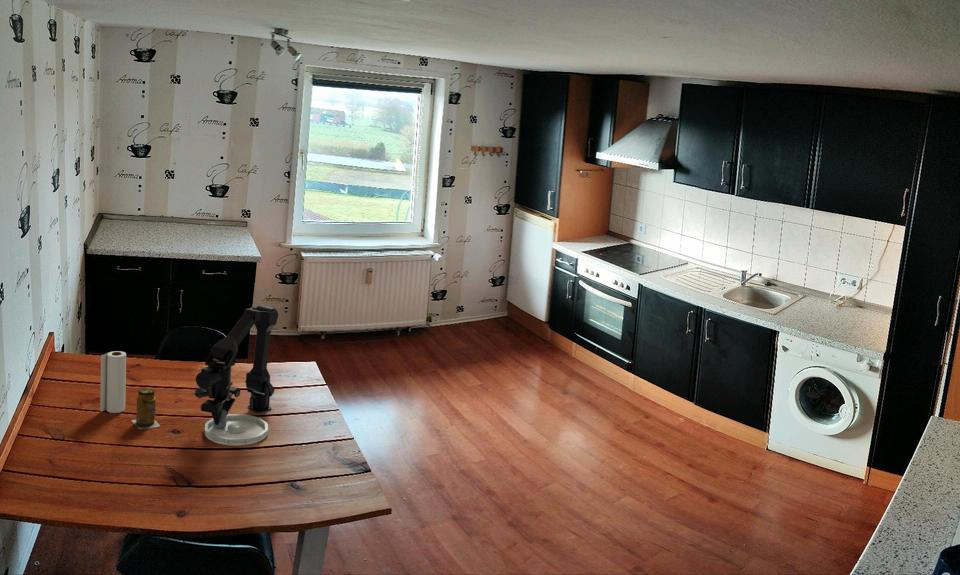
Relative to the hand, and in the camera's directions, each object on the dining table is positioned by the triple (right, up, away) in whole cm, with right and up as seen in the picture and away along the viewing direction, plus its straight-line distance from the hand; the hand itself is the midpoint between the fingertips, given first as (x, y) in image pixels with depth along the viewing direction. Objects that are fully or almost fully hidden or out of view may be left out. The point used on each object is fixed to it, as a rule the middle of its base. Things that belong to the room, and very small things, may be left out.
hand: (219, 422), depth 290 cm
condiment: (-25, 0, -2) cm, 25 cm away
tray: (+6, -4, 0) cm, 7 cm away
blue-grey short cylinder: (0, -1, 0) cm, 1 cm away
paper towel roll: (-39, +3, +6) cm, 40 cm away
